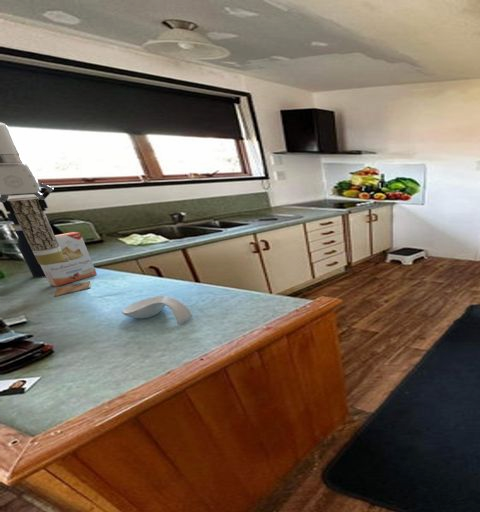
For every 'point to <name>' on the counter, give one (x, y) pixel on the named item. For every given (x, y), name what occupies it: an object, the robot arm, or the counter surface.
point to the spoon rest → (157, 308)
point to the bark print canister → (37, 230)
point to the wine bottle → (26, 249)
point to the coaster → (72, 288)
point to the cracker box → (70, 261)
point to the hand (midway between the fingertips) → (29, 211)
